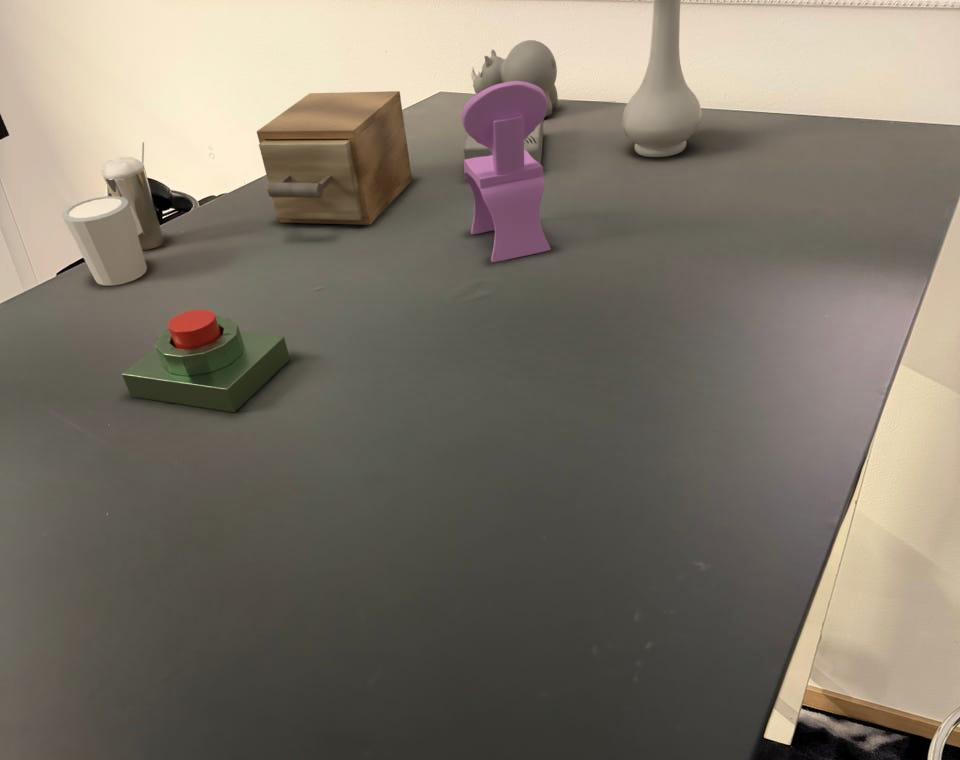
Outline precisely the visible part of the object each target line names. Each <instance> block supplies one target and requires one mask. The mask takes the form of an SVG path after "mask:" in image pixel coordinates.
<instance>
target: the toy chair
mask: <svg viewBox="0 0 960 760" xmlns="http://www.w3.org/2000/svg"><path fill="white" fill-rule="evenodd" d="M546 112H547V98H546V95H545V93H544V91H543V90H542V89H541V88H539V87H538V86H536V85H534V84H531V83H528V82H522V81H511V82H506V83H500V84H497V85H493V86H491V87H489V88H487V89H485V90H483V91H481V92H480V93H478V94H475V95H474V96H472V97H471V98H470V99H469V100H468V101H467V102H466V103H465V104H464V106H463V108H462V110H461V115H460V116H461V117H460V118H461V123H462V126H463V128H464V130H465V132H466V133H467V136H468V135H469V136H471V137H472V138H473V139H475V141H476V142H477V143H479V144H482V145H484V146H486V147H487V148H489V149H490V150H491V151H492V155H490V156H484V157H475V158H470V159H465V158H464V159H463V168H464V169H463V170H464V171H463V173H464V176H465V180H466V182H467V184H468V185H469V187H470V189H471V192H472V196H473V205H474V208H473V217H472V224H471V230H470V234H471V235H473V236H474V235H477V234H484V233H488V232H493V231H494V240H493V241H494V242H493V247H492V253H491V258H490V262H491V263H492V264H493V263H498V262H503V261H508V260H511V259H516V258H521V257H525V256H530V255H534V254H535V255H536V254H539V253H544V252H549V251H551V250H552V249H551V246H550V243H549V242H548V239H547V238H546V235H545V233H544V230H543V228H542V223H541V218H540V215H541V214H540V209H541V203H542V198H543V193H544V189H545V177H544V166H543V165H542V164H540V163H538V162H537V161H536V160H534V159H533V158H532V157H531V156H530V154H529V153H528V152H527V151H526V150H525V149H524V140H525V139H526V138H527V137H528V136H529V135H530V134H531V133H532V132H533V130H534V129H535V128H536V127H537V126H538V125H539V124H540V123H541V122H542V120H543V121H544V119H545V118H546V117H547V116H546ZM545 116H546V117H545Z"/></svg>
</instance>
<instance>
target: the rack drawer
mask: <svg viewBox="0 0 960 760" xmlns="http://www.w3.org/2000/svg"><path fill="white" fill-rule="evenodd" d="M258 147H259V151H260V154H261V158H262V162H263V166H264V171H265V175H266V178H267V179H266V180H267V183H268V184H267V188H266V189H267V194H268V196H269V197H271V198H272V203H273V205H274V209H275V214H276V218H277V219H278V220H279V219H320V220H361V219H362V218H363V216H364V215H363V210H362V204H361V199H360V194H359V188H358V183H357V178H356V172H355V167H354V161H353V156H352V151H351V145H350V141H349V140H348V139H276V141H263V142H261V143H259V144H258Z"/></svg>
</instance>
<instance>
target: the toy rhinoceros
mask: <svg viewBox="0 0 960 760" xmlns="http://www.w3.org/2000/svg"><path fill="white" fill-rule="evenodd" d="M483 57H484V63H483V64H482V66H481V72H480V71H477V74H476V72H475V69H474V67H472V68H471V72H470V76H471V80H472V83H473V84H472V87H473V90H474V93H475V95H477V94H478V93H480V92H481V91H483V90H485V89H487V88H489V87H491V86H493V85H497V84H500V83H506V82H511V81H522V82H528V83H531V84H534V85H536V86H538V87H539V88H541V89H542V90H543V91H544V93H545V95H546V98H547V112H546V116H545V117H544V118H546V117H549V116H550V115H552V113H553V108H555V106H557V104H558V102H559V101H558V100H559V97H558V90H557V87H556V85H555V83H556V80H557V74H558V67H557V62H556V58H555V55H554V53H553V52H552V51H551V49H550V48H549V47H548V46H547V45H545V44H544V43H543V42H542V41H540V40H539V41H538V40H535V39H534V40H533V39H528V40H523V41H521V42H520V43H517V44H516V45H514V47H513V48H511V50H510V51H509V53H508V55H507V56H506V58H502V57H501V56H498V55H497V53H496V51H495V50H494V49H491V51H490V56H488V55H484V56H483Z"/></svg>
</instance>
